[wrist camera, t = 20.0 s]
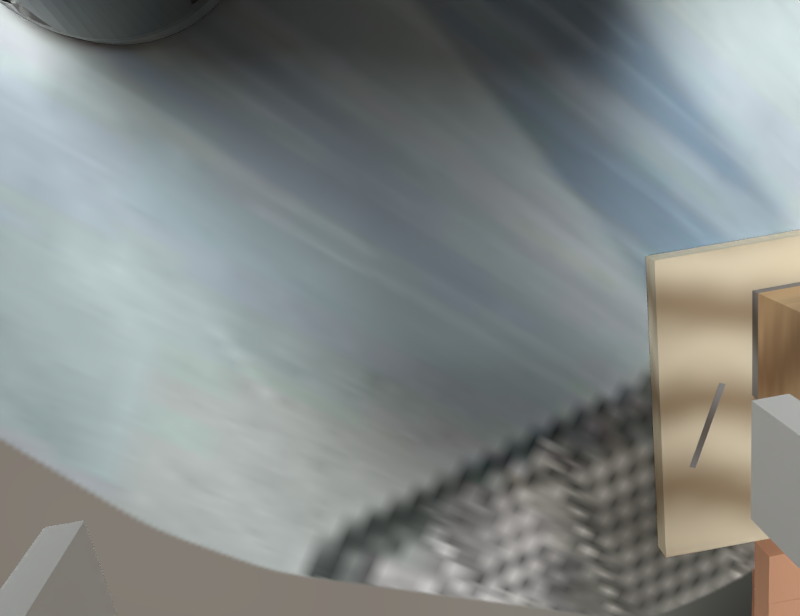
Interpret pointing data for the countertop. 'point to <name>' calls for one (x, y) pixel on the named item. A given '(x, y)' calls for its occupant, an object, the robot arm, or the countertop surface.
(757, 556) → the terracotta square block
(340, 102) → the countertop surface
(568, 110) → the countertop surface
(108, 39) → the robot arm
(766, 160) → the countertop surface
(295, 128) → the countertop surface
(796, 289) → the cardboard box
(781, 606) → the salmon orange square block
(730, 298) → the birch board
